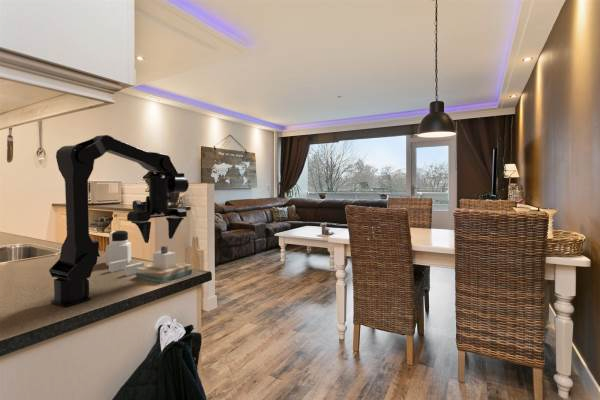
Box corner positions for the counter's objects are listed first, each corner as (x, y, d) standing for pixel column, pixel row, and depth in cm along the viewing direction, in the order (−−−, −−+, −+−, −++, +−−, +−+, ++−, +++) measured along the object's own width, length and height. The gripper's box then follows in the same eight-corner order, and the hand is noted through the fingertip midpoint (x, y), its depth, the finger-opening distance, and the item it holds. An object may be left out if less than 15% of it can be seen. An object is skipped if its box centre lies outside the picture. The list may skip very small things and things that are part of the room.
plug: (165, 273, 103) (165, 248, 103) (153, 271, 106) (152, 246, 106) (175, 270, 107) (175, 246, 106) (163, 268, 110) (163, 244, 109)
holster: (127, 275, 105) (127, 266, 105) (108, 271, 110) (108, 262, 109) (143, 271, 110) (143, 262, 110) (125, 267, 115) (125, 259, 115)
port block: (162, 283, 98) (162, 273, 98) (136, 277, 104) (136, 268, 104) (191, 273, 109) (191, 264, 109) (166, 268, 115) (166, 260, 114)
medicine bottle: (131, 260, 126) (131, 229, 125) (127, 264, 119) (127, 232, 118) (110, 261, 124) (110, 229, 123) (105, 265, 117) (105, 232, 116)
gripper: (165, 191, 117) (165, 234, 118) (115, 192, 101) (116, 242, 102) (187, 192, 112) (187, 237, 113) (138, 194, 96) (139, 246, 97)
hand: (159, 240), depth 106 cm, fingers open, 9 cm apart
